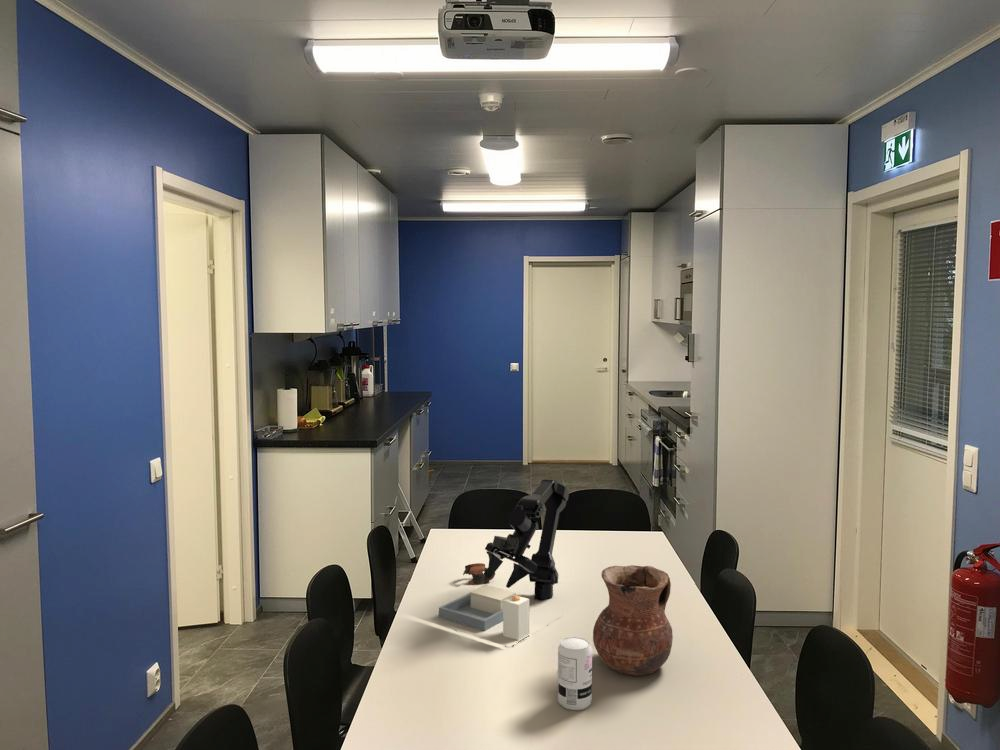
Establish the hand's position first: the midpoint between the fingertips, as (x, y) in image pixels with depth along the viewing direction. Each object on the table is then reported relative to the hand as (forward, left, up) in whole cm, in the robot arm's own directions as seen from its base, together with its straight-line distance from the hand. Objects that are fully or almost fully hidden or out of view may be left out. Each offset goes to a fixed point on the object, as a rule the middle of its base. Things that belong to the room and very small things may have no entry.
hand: (497, 582), depth 225 cm
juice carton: (+3, +9, -14) cm, 17 cm away
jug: (-2, +44, -14) cm, 46 cm away
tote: (-4, -9, -14) cm, 17 cm away
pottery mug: (-26, -28, -14) cm, 41 cm away
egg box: (-9, -9, -13) cm, 18 cm away
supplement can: (+25, +42, -14) cm, 51 cm away
